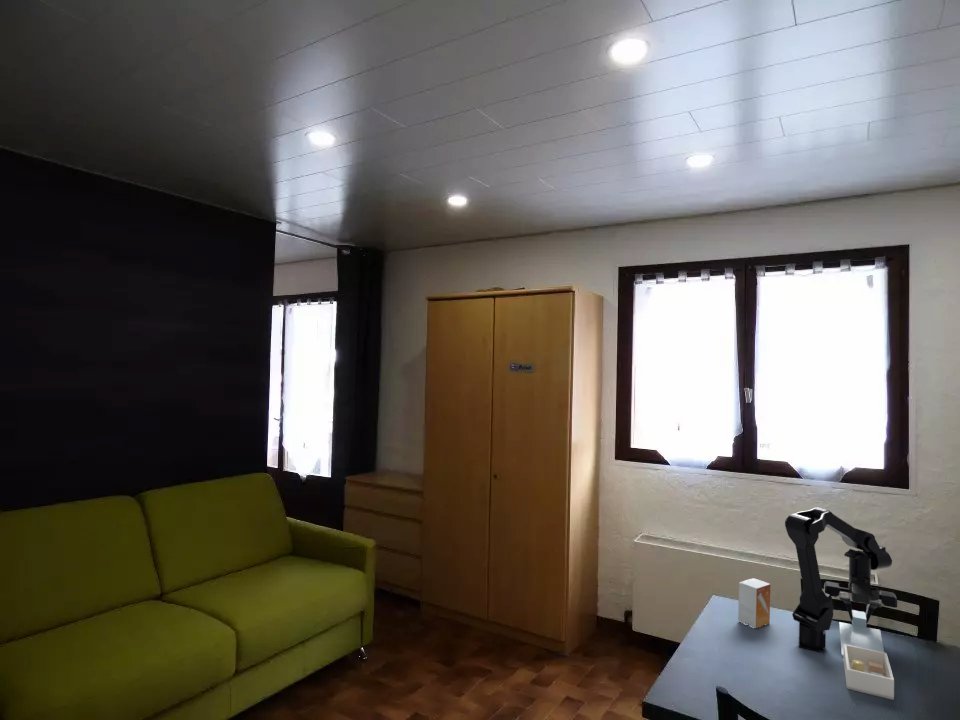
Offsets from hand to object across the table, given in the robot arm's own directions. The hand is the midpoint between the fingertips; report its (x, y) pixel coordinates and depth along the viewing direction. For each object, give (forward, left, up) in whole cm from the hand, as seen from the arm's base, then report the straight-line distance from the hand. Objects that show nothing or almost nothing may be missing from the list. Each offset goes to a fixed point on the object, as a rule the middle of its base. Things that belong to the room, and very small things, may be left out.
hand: (858, 621), depth 182 cm
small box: (-29, -7, -5) cm, 30 cm away
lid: (0, -8, -3) cm, 8 cm away
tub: (0, -29, -4) cm, 29 cm away
